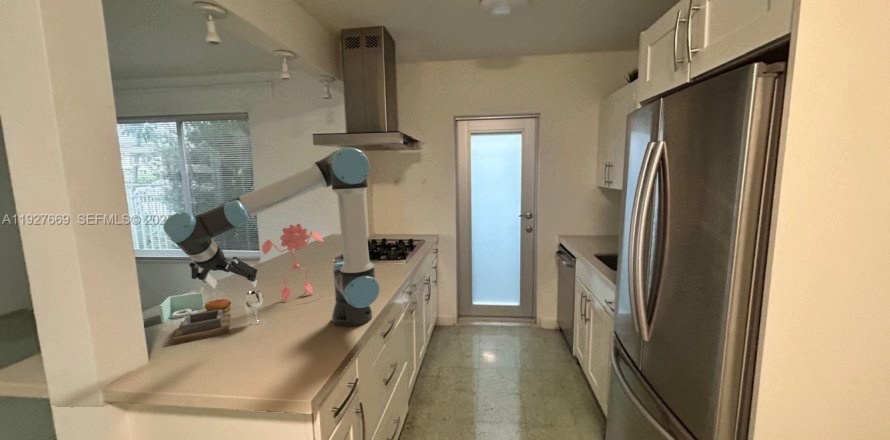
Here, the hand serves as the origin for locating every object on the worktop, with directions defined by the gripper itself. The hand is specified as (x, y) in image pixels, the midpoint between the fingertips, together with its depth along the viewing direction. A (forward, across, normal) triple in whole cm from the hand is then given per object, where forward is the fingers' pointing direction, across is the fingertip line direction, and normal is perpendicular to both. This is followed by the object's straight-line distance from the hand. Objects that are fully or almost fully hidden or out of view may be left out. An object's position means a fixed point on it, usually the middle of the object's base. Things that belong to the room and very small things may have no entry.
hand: (235, 285), depth 122 cm
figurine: (+38, +10, +12) cm, 41 cm away
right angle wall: (+30, -34, +2) cm, 45 cm away
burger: (+31, -21, +4) cm, 38 cm away
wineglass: (+21, +1, -5) cm, 22 cm away
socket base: (+18, -16, -9) cm, 25 cm away
